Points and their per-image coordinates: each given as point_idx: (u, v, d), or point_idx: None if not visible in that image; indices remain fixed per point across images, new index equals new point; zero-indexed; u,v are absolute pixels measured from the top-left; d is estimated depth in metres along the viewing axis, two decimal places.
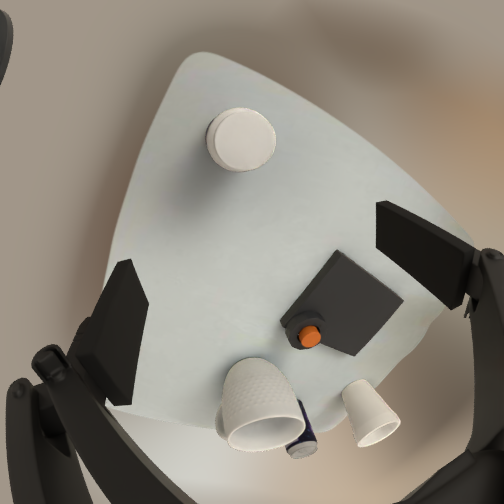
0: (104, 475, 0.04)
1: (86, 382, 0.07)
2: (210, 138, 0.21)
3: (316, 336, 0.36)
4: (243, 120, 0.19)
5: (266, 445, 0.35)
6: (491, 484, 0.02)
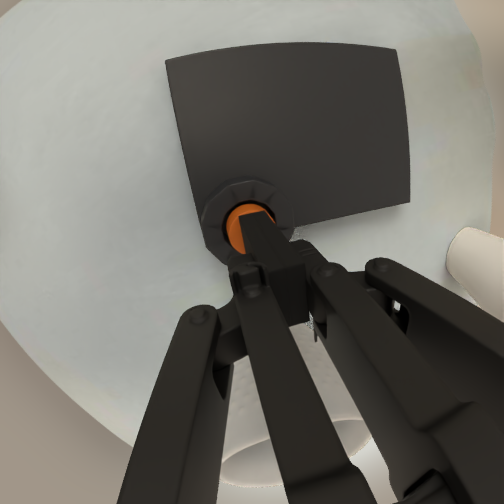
0: (272, 392, 0.05)
1: None
2: None
3: None
4: None
5: None
6: None
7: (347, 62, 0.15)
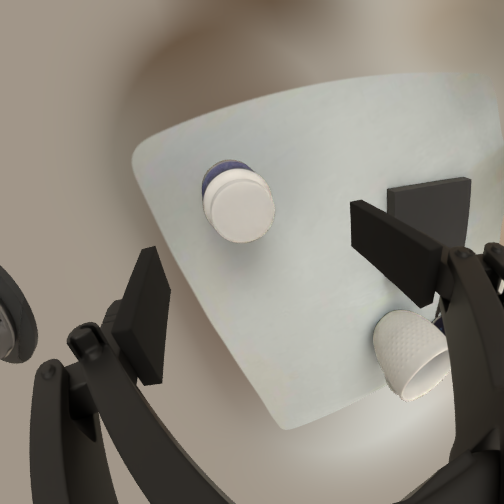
0: (133, 454, 0.04)
1: (121, 361, 0.08)
2: None
3: None
4: (225, 201, 0.19)
5: (436, 379, 0.34)
6: (491, 484, 0.02)
7: (453, 192, 0.32)
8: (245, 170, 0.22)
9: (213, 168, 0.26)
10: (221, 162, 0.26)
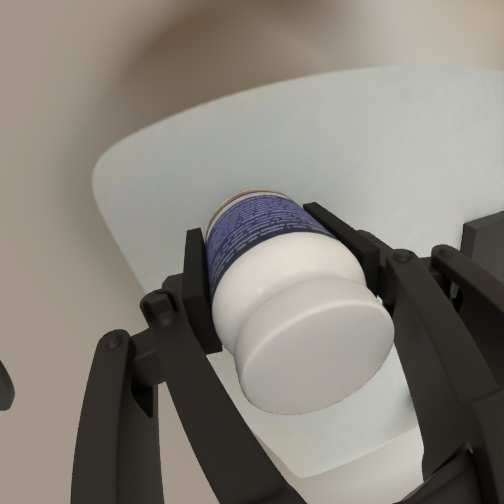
0: (195, 421, 0.05)
1: None
2: None
3: None
4: (283, 354, 0.06)
5: None
6: None
7: None
8: (319, 239, 0.09)
9: (229, 210, 0.13)
10: (244, 195, 0.13)
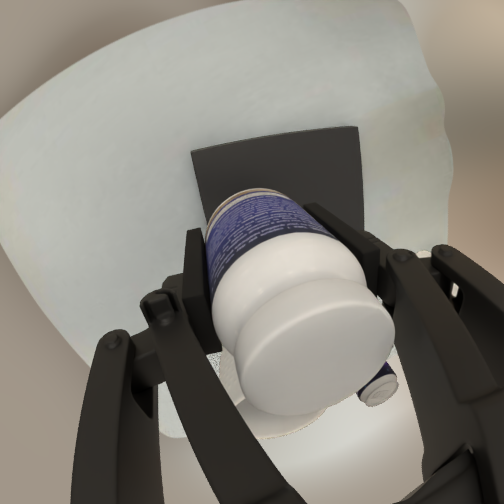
0: (195, 421, 0.05)
1: None
2: None
3: None
4: (283, 355, 0.06)
5: (307, 417, 0.27)
6: None
7: (317, 145, 0.26)
8: (320, 239, 0.08)
9: (229, 210, 0.12)
10: (244, 196, 0.13)
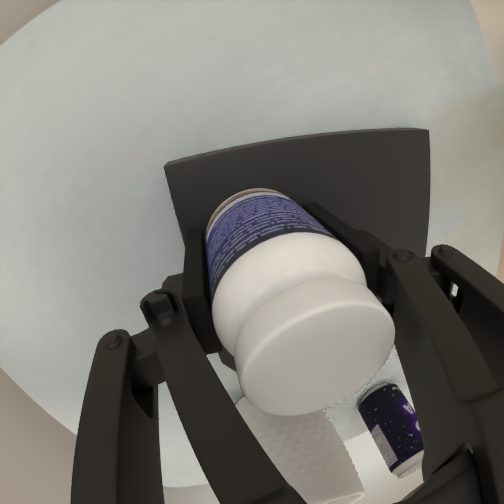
0: (195, 421, 0.05)
1: None
2: None
3: None
4: (283, 355, 0.06)
5: None
6: None
7: (376, 156, 0.15)
8: (320, 239, 0.08)
9: (229, 210, 0.12)
10: (244, 196, 0.13)
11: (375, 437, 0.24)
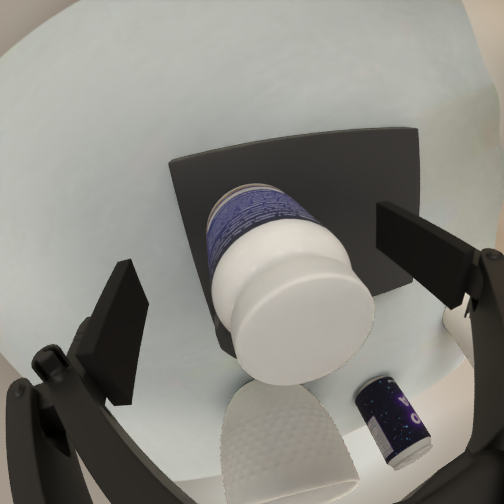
0: (104, 475, 0.04)
1: (86, 382, 0.07)
2: None
3: None
4: (272, 321, 0.08)
5: (328, 495, 0.18)
6: (491, 484, 0.02)
7: (366, 153, 0.16)
8: (306, 224, 0.10)
9: (228, 203, 0.14)
10: (242, 190, 0.14)
11: (372, 428, 0.25)
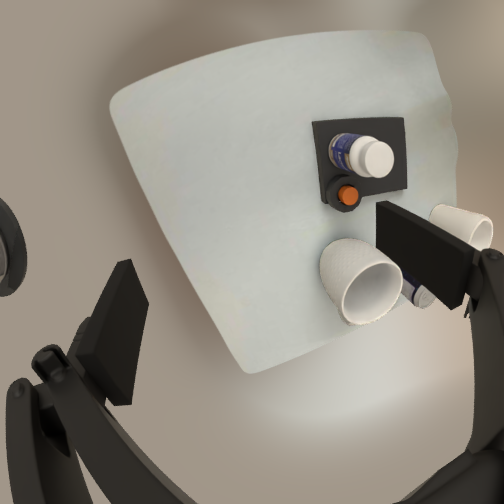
0: (104, 475, 0.04)
1: (86, 382, 0.07)
2: (357, 168, 0.33)
3: (351, 191, 0.40)
4: (372, 151, 0.30)
5: (385, 306, 0.40)
6: (491, 484, 0.02)
7: (382, 126, 0.39)
8: None
9: (342, 136, 0.36)
10: (344, 133, 0.37)
11: None
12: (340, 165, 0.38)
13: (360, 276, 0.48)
